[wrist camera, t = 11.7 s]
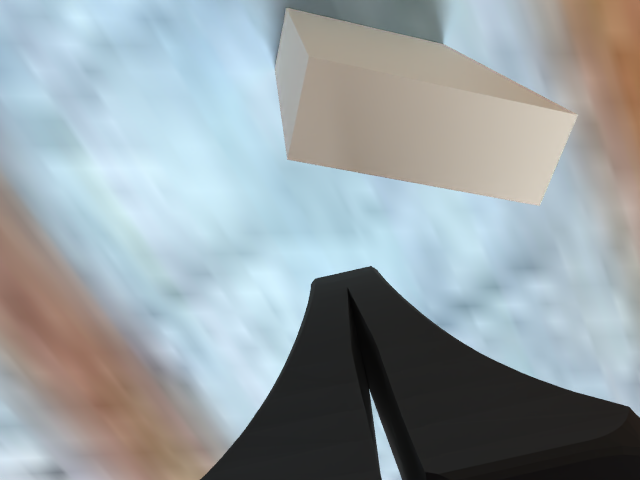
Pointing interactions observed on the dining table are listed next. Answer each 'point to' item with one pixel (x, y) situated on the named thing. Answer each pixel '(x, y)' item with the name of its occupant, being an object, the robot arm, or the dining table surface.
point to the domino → (412, 111)
